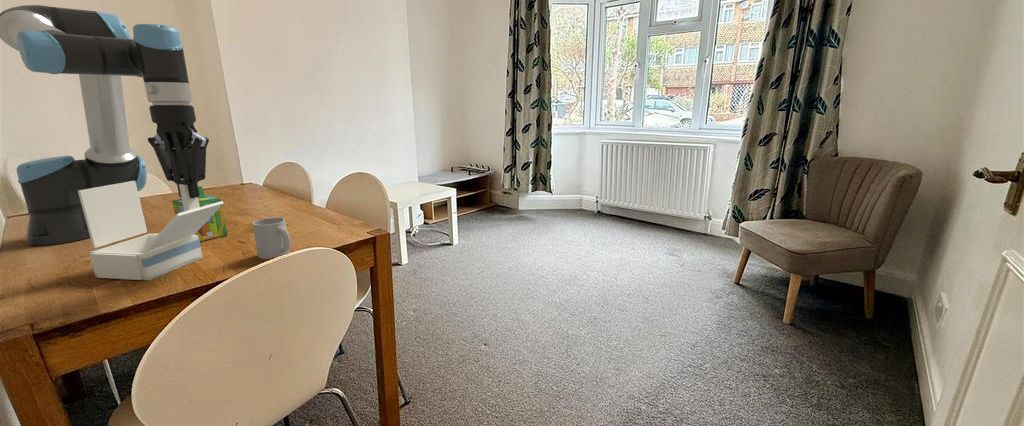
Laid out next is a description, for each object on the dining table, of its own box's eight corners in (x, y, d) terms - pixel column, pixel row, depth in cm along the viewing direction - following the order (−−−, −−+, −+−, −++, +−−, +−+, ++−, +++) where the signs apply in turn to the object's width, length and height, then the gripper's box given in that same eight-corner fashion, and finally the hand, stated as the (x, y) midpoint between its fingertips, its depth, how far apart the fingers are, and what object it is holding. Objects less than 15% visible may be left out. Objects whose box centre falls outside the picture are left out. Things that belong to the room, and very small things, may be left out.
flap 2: (144, 249, 93) (176, 213, 90) (192, 233, 105) (222, 201, 101) (146, 251, 93) (178, 215, 90) (193, 234, 105) (224, 203, 101)
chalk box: (193, 244, 118) (182, 192, 115) (178, 239, 123) (167, 188, 120) (229, 235, 126) (220, 186, 122) (214, 231, 131) (204, 183, 127)
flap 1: (93, 247, 95) (77, 190, 92) (145, 232, 107) (133, 180, 103) (95, 247, 95) (80, 190, 92) (147, 232, 107) (135, 180, 103)
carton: (92, 278, 95) (85, 253, 94) (157, 254, 110) (152, 232, 109) (146, 281, 93) (140, 255, 92) (205, 257, 108) (200, 234, 107)
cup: (277, 248, 114) (272, 216, 112) (303, 253, 110) (299, 220, 108) (251, 257, 108) (245, 223, 105) (278, 262, 103) (273, 227, 101)
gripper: (127, 104, 87) (151, 215, 93) (182, 104, 86) (204, 217, 92) (161, 104, 95) (182, 207, 101) (213, 103, 93) (231, 208, 99)
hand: (192, 211), depth 96 cm, fingers closed
